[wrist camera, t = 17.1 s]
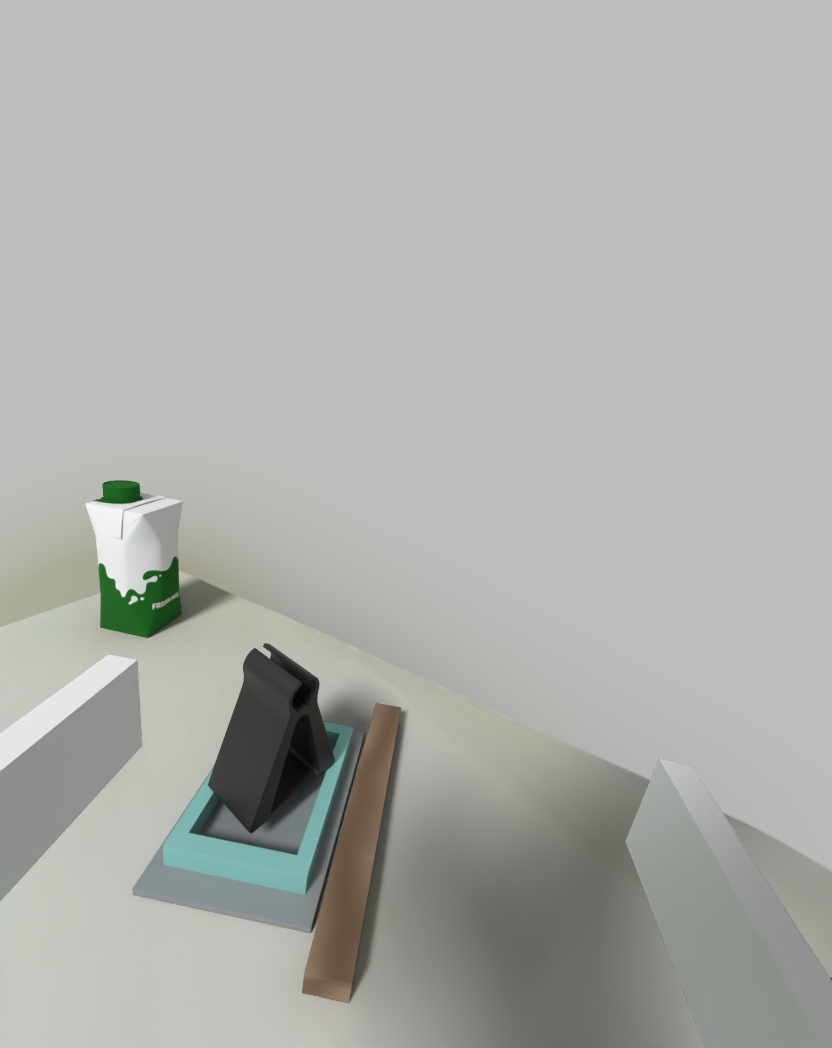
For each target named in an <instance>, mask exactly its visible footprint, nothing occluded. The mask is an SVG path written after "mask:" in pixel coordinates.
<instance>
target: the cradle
mask: <svg viewBox="0 0 832 1048" xmlns="http://www.w3.org/2000/svg"><path fill="white" fill-rule="evenodd" d="M323 723H324V726H325V730H326V733H327V736H328V739H329V742H330V745H331V749H332V752H333V755H334V758H335V763H334V764H333V766H332V767H330V768H329V769H328V770H327V771H326V772H324V773H323V774H322V775H321V776H320V777H319V778H317V779H316V780H315V781H314V782H313V783H311V784H310V785H309V786H308V787H307V788H306V789H304V790H303V791H302V792H301V793H300V794H297V795H296V796H295V798H294V799H292V800H291V801H290V802H289V803H288V804H287V805H285V806H284V807H283V808H282V809H281V810H279V811H278V812H277V813H276V814H275V815H274V816H272V817H271V818H270V819H269V820H268V821H266V822H265V823H264V824H263V825H262V826H260V827H259V828H258V829H257V830H256V831H255V832H253V833H252V834H250V833H249V832H248V831H247V830H246V828H245V827H244V826H243V825H242V824H241V823H240V822H239V821H238V819H237V818H236V817H235V816H234V815H233V814H232V813H231V811H230V810H229V809H228V808H227V807H226V806H225V805H224V803H223V802H222V801H221V800H220V799H219V798H218V797H217V795H216V794H215V793H214V792H213V791H212V790H211V789H210V787H209V786H208V782H209V779H210V777H211V774H212V771H213V768H214V767H213V768H212V770H211V771H210V773H209V774H208V776H207V777H206V779H205V780H204V782H203V783H202V785H201V786H200V788H199V789H198V791H197V792H196V794H195V795H194V797H193V798H192V800H191V801H190V803H189V804H188V806H187V807H186V809H185V810H184V812H183V813H182V815H181V816H180V818H179V820H178V821H177V823H176V824H175V826H174V827H173V829H172V830H171V832H170V833H169V835H168V836H167V838H166V839H165V841H164V842H163V844H162V845H161V847H160V848H159V850H158V851H157V853H156V854H155V856H154V857H153V859H152V860H151V862H150V863H149V865H148V866H147V868H146V869H145V871H144V872H143V874H142V875H141V877H140V878H139V880H138V881H137V883H136V884H135V886H134V887H133V895H137V896H141V897H146V898H151V899H155V900H160V901H165V902H169V903H174V904H178V905H183V906H188V907H192V908H197V909H202V910H206V911H211V912H216V913H220V914H225V915H229V916H234V917H239V918H243V919H248V920H253V921H257V922H262V923H267V924H271V925H276V926H281V927H285V928H290V929H294V930H299V931H304V932H308V933H311V929H312V925H313V922H314V918H315V914H316V911H317V907H318V903H319V900H320V896H321V892H322V889H323V885H324V881H325V878H326V874H327V870H328V867H329V863H330V859H331V856H332V852H333V848H334V845H335V841H336V837H337V834H338V830H339V826H340V823H341V819H342V815H343V812H344V808H345V804H346V801H347V797H348V793H349V790H350V786H351V782H352V779H353V775H354V771H355V768H356V764H357V760H358V757H359V753H360V749H361V746H362V742H363V738H364V734H365V731H362V730H356V729H354V727H351V726H346V725H341V724H335V723H330V722H325V721H323Z"/></svg>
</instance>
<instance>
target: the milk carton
mask: <svg viewBox="0 0 832 1048" xmlns="http://www.w3.org/2000/svg"><path fill="white" fill-rule="evenodd" d="M103 496H104V497H102V498H101V499H98V500H94V501H93V502H88V503H86V508H87V510H88V513H89V516H90V519H91V522H92V525H93V528H94V532H95V536H96V543H97V555H98V567H99V578H100V591H101V621H100V627H101V628H105V629H110V630H114V631H119V632H124V633H128V634H133V635H137V636H142V637H147V638H148V637H149V636H151V635H152V634H154V633H155V632H156V631H158V630H159V629H161V628H162V627H163V626H165V625H166V624H168V623H169V622H170V621H172V620H173V619H175V618H176V617H177V616H179V615H180V614H182V612H181V603H180V594H179V570H178V528H179V521H180V515H181V509H182V503H183V502H182V501H178V500H173V499H167V498H166V497H163V496H155V495H150V494H144V493H140V485H139V483H137V482H133V481H121V480H120V481H108V482H105V483H103Z"/></svg>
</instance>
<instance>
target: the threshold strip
mask: <svg viewBox="0 0 832 1048" xmlns="http://www.w3.org/2000/svg"><path fill="white" fill-rule="evenodd" d="M400 711H401V708H400V707H395V706H389V705H384V704H379V703H376V704H375V708H374V712H373V715H372V719H371V723H370V727H369V730H368V734H367V738H366V742H365V746H364V749H363V753H362V757H361V761H360V764H359V768H358V772H357V776H356V780H355V783H354V787H353V791H352V795H351V799H350V802H349V806H348V810H347V814H346V817H345V821H344V825H343V829H342V833H341V836H340V840H339V844H338V848H337V851H336V855H335V859H334V863H333V867H332V870H331V874H330V878H329V882H328V886H327V889H326V893H325V897H324V901H323V904H322V908H321V912H320V916H319V920H318V923H317V927H316V931H315V935H314V938H313V942H312V946H311V950H310V954H309V957H308V961H307V965H306V969H305V973H304V981H303V991H302V993H305V994H310V995H314V996H319V997H323V998H328V999H332V1000H337V1001H341V1002H346V1003H349V1000H350V994H351V988H352V983H353V977H354V971H355V966H356V960H357V954H358V949H359V943H360V937H361V932H362V926H363V920H364V915H365V909H366V904H367V898H368V892H369V887H370V881H371V875H372V870H373V864H374V858H375V853H376V847H377V841H378V836H379V830H380V825H381V819H382V813H383V808H384V802H385V796H386V791H387V785H388V779H389V774H390V768H391V762H392V757H393V751H394V745H395V740H396V734H397V729H398V723H399V717H400Z"/></svg>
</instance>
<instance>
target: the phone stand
mask: <svg viewBox="0 0 832 1048" xmlns="http://www.w3.org/2000/svg"><path fill="white" fill-rule="evenodd" d="M263 647H264V648H266V649H267V650H269V651H270V652H271V658H270V659H269V658H268V657H267V656H265V655H264V654H262V653H261V652H260V651H258V650H257V649H256V648H254V649H253V650H252V651H251V652H250V653H249V654H248V655H247V657H246V659H245V661H244V664H243V672H244V681H243V686H242V689H241V692H240V695H239V697H238V700H237V703H236V706H235V709H234V711H233V714H232V717H231V720H230V723H229V726H228V728H227V731H226V734H225V737H224V740H223V743H222V745H221V748H220V751H219V754H218V757H217V760H216V762H215V765H214V768H213V771H212V774H211V777H210V779H209V782H208V786H209V787H210V789H211V790H212V791H213V792H214V793H215V794H216V795H217V797H218V798H219V799H220V800H221V801H222V802H223V803H224V805H225V806H226V807H227V808H228V809H229V810H230V811H231V813H232V814H233V815H234V816H235V817H236V818H237V819H238V821H239V822H240V823H241V824H242V825H243V826H244V827H245V828H246V830H247V831H248V832H249V833H250V834H252V833H253V832H255V831H256V830H257V829H258V828H259V827H260V826H262V825H263V824H264V823H265V822H266V821H268V820H269V819H270V818H271V817H272V816H274V815H275V814H276V813H277V812H278V811H279V810H281V809H282V808H283V807H284V806H285V805H287V804H288V803H289V802H290V801H291V800H292V799H294V798H295V796H296V795H297V794H300V793H301V792H302V791H303V790H304V789H306V788H307V787H308V786H309V785H310V784H311V783H313V782H314V781H315V780H316V779H317V778H319V777H320V776H321V775H322V774H323V773H324V772H326V771H327V770H328V769H329V768H330V767H332V766H333V764H334V763H335V758H334V755H333V752H332V749H331V745H330V742H329V739H328V736H327V733H326V730H325V726H324V723H323V720H322V717H321V714H320V710H319V707H318V703H317V695H318V690H319V680H318V678H317V677H315V676H314V675H312V674H311V673H310V672H308V671H307V670H305V669H304V668H302V667H301V666H300V665H298V664H297V663H295V662H294V661H293V660H291V659H290V658H288V657H287V656H286V655H284V654H283V653H281V652H280V651H278V650H277V649H276V648H274V647H273V646H271V645H270V644H266V643H265V644H264V646H263Z"/></svg>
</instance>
